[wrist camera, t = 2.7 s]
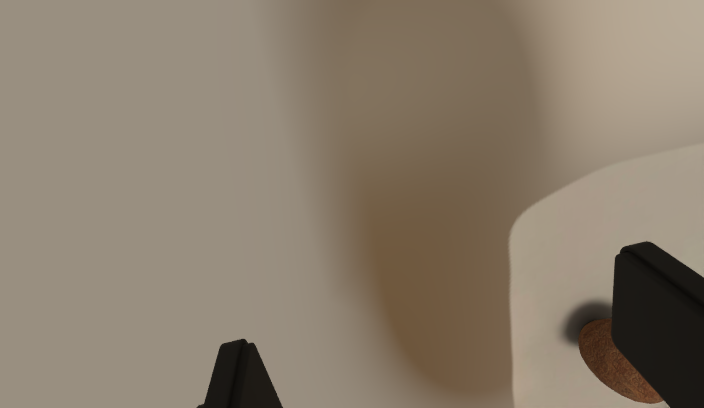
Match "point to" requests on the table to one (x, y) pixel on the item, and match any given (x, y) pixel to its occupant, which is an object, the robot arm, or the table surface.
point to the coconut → (613, 363)
